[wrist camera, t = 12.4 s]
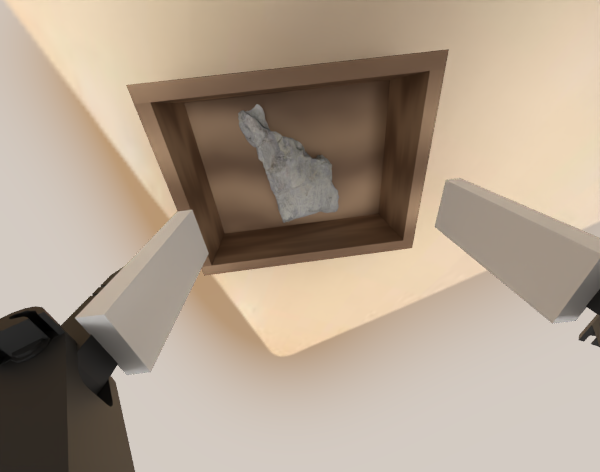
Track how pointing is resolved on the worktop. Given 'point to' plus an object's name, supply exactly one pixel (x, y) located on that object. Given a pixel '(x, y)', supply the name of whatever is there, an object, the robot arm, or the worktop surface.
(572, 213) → the worktop surface
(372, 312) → the worktop surface
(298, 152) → the mineral specimen
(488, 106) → the worktop surface
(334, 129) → the walnut well
